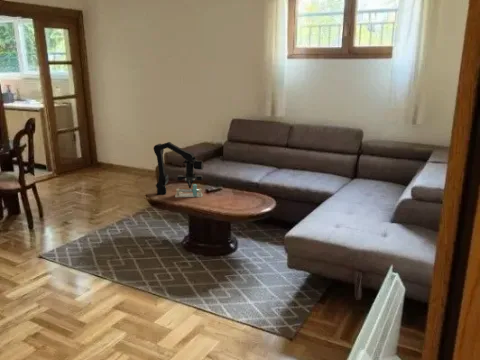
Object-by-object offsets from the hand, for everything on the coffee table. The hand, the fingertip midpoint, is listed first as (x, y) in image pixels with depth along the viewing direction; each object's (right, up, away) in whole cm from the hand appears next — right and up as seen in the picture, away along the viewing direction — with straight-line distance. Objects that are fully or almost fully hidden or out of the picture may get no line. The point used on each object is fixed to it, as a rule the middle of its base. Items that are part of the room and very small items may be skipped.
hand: (190, 188), depth 322 cm
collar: (+4, -4, +1) cm, 6 cm away
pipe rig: (-1, -6, +1) cm, 6 cm away
